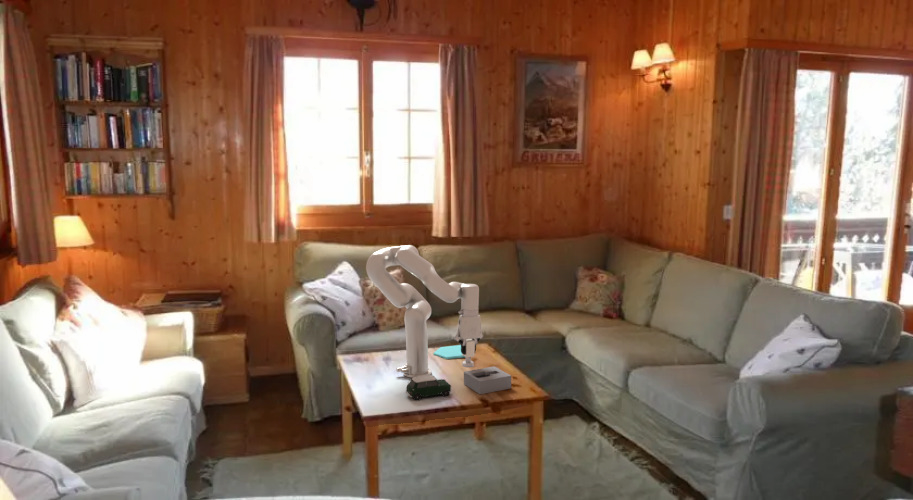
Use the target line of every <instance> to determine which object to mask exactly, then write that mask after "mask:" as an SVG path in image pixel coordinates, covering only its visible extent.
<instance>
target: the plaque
mask: <svg viewBox="0 0 913 500" xmlns="http://www.w3.org/2000/svg"><path fill="white" fill-rule="evenodd" d="M433 356H436V357H438V358H441V359H445V360H451V359H460V358H462V359H463V358H466V357H465V356H463V355H462V353H461V344H456V345H448V346H440V347H439V348H438V349H436V350H435V351H434V352H433Z"/></svg>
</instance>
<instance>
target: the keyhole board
mask: <svg viewBox="0 0 913 500" xmlns="http://www.w3.org/2000/svg"><path fill="white" fill-rule="evenodd" d="M463 385H464V386H466V387H468V388H469V389H471V390H472V391H474V392H475V393H477V394H479V395H484V394H488V393H493V392H500V391H505V390H509V389H512V375H511V374H509V373H508V372H505V371H504V370H502V369H500V368H499V367H497V366H495V365H494V366H489V367H483V368H477V369H472V370H466V371H463Z"/></svg>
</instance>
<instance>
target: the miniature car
mask: <svg viewBox="0 0 913 500" xmlns="http://www.w3.org/2000/svg"><path fill="white" fill-rule="evenodd" d="M451 387H452V386H451V383H449V382H447V381H446V379H445V378H444V379H442V378H441V379H437V377H435V375H432V374H431V375H423V376H417V377H413V378H411V379H410V381H409V383H408V384H407V385H406V388H405V393H406V394H407V396H408V397H409V398H413V400H414V401H417V402H419V401H421V398H422V397H424V398H425V397H430V396H439V395H441V396H443V397H449V395H450V393H451V392H452V388H451Z"/></svg>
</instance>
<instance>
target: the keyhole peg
mask: <svg viewBox="0 0 913 500" xmlns="http://www.w3.org/2000/svg"><path fill="white" fill-rule="evenodd" d="M465 346H466V355H464V354H462V355H463V356H465V357H464V358H465V360H463V361H462V364H461V366H462V367H464V368H473V367H474V366H475V365H474V364H475V363H474V361H473V360H472V358H473V357H475V354H476V351H475V341H474V340H472V339H467V340H466V343H465Z"/></svg>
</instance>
